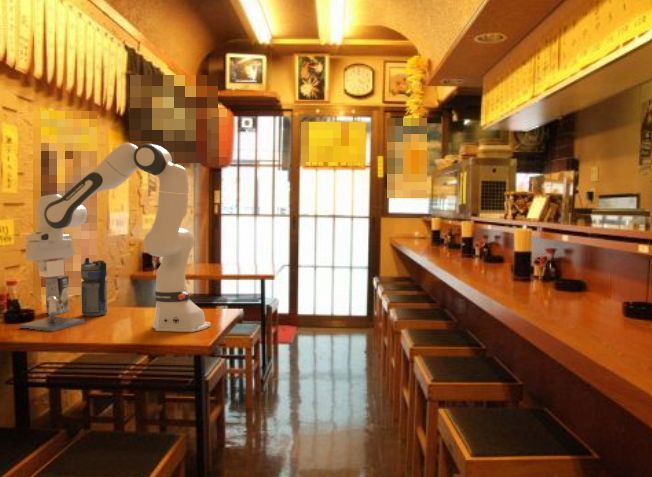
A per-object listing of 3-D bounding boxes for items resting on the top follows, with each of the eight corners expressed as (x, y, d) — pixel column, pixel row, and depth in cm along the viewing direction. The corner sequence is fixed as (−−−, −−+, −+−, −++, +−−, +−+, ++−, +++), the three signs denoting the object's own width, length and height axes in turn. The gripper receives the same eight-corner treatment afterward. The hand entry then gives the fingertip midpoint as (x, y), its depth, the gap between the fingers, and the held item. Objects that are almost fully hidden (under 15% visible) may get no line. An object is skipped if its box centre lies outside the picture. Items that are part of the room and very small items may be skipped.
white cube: (55, 274, 201) (54, 259, 200) (64, 275, 197) (63, 259, 197) (39, 276, 195) (38, 260, 195) (47, 277, 192) (46, 261, 192)
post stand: (84, 322, 202) (84, 294, 202) (52, 331, 187) (51, 301, 186) (53, 320, 207) (53, 292, 206) (19, 328, 192) (18, 299, 191)
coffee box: (61, 314, 220) (60, 278, 219) (45, 314, 219) (45, 278, 218) (69, 310, 229) (68, 275, 228) (55, 310, 228) (54, 275, 227)
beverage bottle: (95, 318, 210) (93, 260, 209) (75, 315, 217) (74, 258, 215) (115, 314, 219) (114, 258, 218) (96, 311, 225) (95, 256, 224)
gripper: (65, 234, 206) (66, 267, 207) (22, 236, 187) (23, 272, 187) (77, 234, 204) (78, 267, 205) (35, 236, 185) (36, 273, 185)
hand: (52, 270), depth 196 cm, fingers closed on white cube, 7 cm apart
